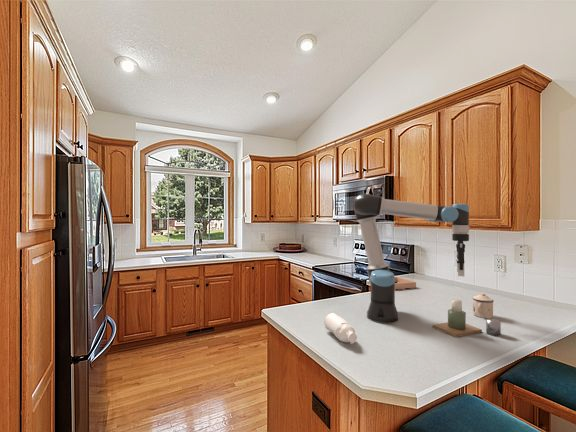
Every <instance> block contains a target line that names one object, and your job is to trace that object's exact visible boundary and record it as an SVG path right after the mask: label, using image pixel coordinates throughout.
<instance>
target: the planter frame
mask: <svg viewBox="0 0 576 432" xmlns="http://www.w3.org/2000/svg"><path fill="white" fill-rule="evenodd" d="M395 282H399V283H395V291H397V290H396V289H401V290H406V289H405V288H411V289H417V281H414V280H409V279H408V278H403V277H399V276H395Z"/></svg>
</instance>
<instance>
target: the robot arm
mask: <svg viewBox="0 0 576 432" xmlns="http://www.w3.org/2000/svg"><path fill="white" fill-rule="evenodd" d="M352 207H353V210H354V215H355V219H356V222H358V223H359V225H360V226H359V227H360V229H361V235H362V240H363V244H364V248H365V252H366V253H365V254H366V258H367V263H368V266H367V267H366V270H367V276H368V281H369V282H368V283H369V284H370V303H369V305H368V309H367V311H366V318H367V319H369V320H370V319H371V320H370V321H372V320H373V322H376V323H382V324H394V323H397V322H398V321H399V312H398V309H397V307H396V304H395V300H396V299H395V297H396V296H395V294H396V292H395V291H396V290H395V277H396V275H395V274H394V273H393V272H392V271H391V270H390V267H389V264H388V263H386V262H385V258H384V253H383V249H382V244H381V240H380V239H381V238H380V236H379V235H380V234H379V230H378V227H377V221H376V220H377V218H378V216H381V215H382V214H383V215H391V216H396V217H397V216H398V217H405V218H415V219H421V220H427V221H428V222H430V223H432V222H433V223H451V224H452V225H451V227H452V228H451V233H452V234H451V236H452V238H451V239H452V241H453V242H454V241H455V242H457V243H456V244H455V248H456V252H457V253H456V254H457V255H456V257H457V258H456V269H457V270H456V272H457V277H463V278H464V277H465V262H466V261H465V252H466V251H465V250H466V244H464V242H470V234H469V233H470V229H471V227H470V206H469V204H467V203H453V204H452V206H449V205H447V206H446V205H438V204H429V203H420V202H413V201H412V202H411V201H406V200H405V201H404V200H395V199H386V198H384V197H383V196H378V195H373V194H369V193H360V194H359V195H357V196H356V197H355V198H354V200H353V206H352Z"/></svg>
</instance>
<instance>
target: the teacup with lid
mask: <svg viewBox="0 0 576 432" xmlns="http://www.w3.org/2000/svg"><path fill="white" fill-rule="evenodd" d="M472 306H473V307H472V309H473V312H472V313H473V315H474V316H475V317H478V318H481V319H487V318H492V319H494V299H493V298H491V297H489V296H488V295H486V293H485V292H481V293H480V294H479V295H474V296H472Z"/></svg>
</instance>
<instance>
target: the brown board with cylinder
mask: <svg viewBox="0 0 576 432" xmlns="http://www.w3.org/2000/svg"><path fill="white" fill-rule="evenodd" d="M466 316H467V315H466V312H465V311H464V310H463V300H461V299H451V309H450V308H449V309H448V310H447V322H441V323H435V324H434V323H433V324H432V328H434V329H436V330H438V331H439V332H440V331H441V332H443V333H445V334H447V335H450V336H453V337H454V338H458V337H464V336H470V335H474V334H475V335H476V334H480V333H483V329H481V328H480V327H476V326H473V325H471V324H468V323H467V322H466Z"/></svg>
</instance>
